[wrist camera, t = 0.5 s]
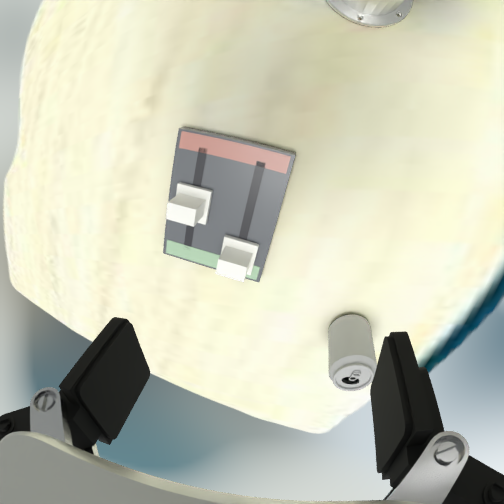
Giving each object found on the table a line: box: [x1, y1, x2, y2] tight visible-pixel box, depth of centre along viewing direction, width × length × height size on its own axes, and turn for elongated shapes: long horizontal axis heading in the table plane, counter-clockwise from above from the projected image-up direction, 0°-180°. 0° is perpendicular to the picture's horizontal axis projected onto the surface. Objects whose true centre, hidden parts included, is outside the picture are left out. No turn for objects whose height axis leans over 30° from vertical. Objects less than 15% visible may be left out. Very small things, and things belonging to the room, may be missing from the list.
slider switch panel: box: [163, 127, 296, 282], centre depth 43 cm, size 20×16×2 cm
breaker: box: [215, 235, 259, 282], centre depth 43 cm, size 5×5×5 cm
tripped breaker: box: [166, 182, 213, 227], centre depth 40 cm, size 5×5×5 cm
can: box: [328, 314, 377, 391], centre depth 45 cm, size 8×8×12 cm
